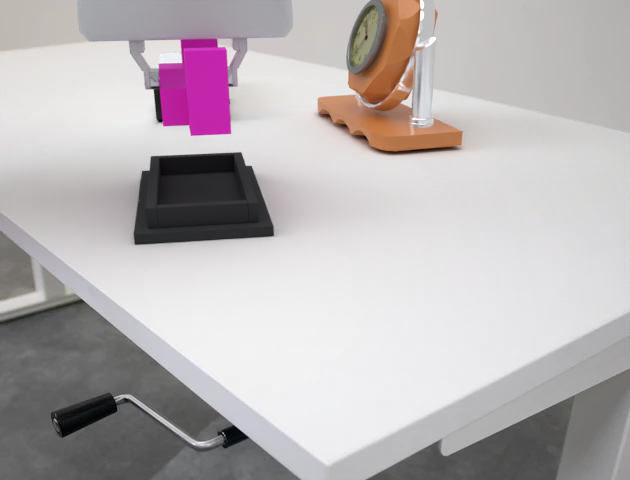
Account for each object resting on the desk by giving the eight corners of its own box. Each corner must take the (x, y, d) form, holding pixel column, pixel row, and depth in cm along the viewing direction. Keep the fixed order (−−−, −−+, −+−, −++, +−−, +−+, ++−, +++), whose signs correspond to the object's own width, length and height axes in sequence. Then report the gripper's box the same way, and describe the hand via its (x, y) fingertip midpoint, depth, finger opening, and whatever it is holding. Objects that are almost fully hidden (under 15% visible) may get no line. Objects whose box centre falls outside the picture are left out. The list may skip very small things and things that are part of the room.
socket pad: (134, 244, 70) (131, 213, 69) (142, 178, 90) (140, 153, 88) (273, 235, 72) (272, 205, 71) (252, 173, 92) (251, 148, 90)
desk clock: (381, 107, 128) (385, -23, 119) (464, 148, 102) (478, -14, 93) (311, 112, 124) (311, -22, 116) (380, 156, 99) (386, -12, 90)
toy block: (162, 106, 83) (155, 34, 80) (219, 104, 84) (215, 32, 81) (163, 137, 70) (155, 51, 66) (231, 134, 71) (226, 49, 67)
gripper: (59, -69, 65) (81, 96, 71) (294, -69, 68) (296, 89, 74) (68, -68, 71) (88, 85, 77) (285, -68, 74) (287, 79, 80)
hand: (192, 87), depth 75 cm, fingers closed on toy block, 6 cm apart
